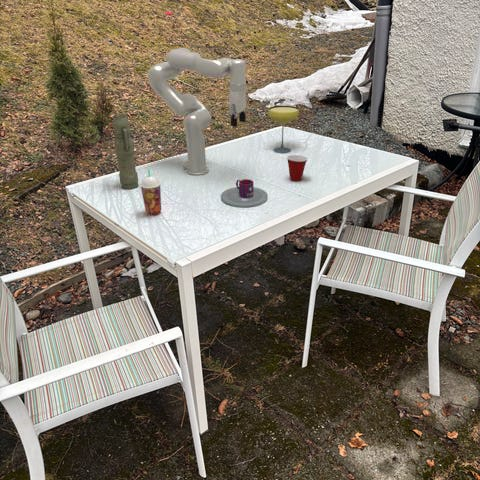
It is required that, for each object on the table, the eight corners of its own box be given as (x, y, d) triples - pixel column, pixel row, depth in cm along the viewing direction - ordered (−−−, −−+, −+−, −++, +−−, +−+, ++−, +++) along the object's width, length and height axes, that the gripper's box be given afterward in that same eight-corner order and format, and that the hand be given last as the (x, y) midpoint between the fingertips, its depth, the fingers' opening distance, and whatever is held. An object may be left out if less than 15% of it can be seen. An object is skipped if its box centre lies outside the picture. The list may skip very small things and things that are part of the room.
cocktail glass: (265, 146, 276) (266, 106, 264) (293, 145, 278) (295, 105, 265) (270, 155, 260) (271, 113, 248) (299, 154, 262) (302, 112, 250)
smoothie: (145, 209, 198) (139, 167, 188) (163, 208, 198) (159, 166, 189) (143, 217, 191) (137, 174, 181) (162, 216, 191) (157, 173, 181)
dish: (212, 202, 203) (212, 200, 203) (233, 185, 221) (233, 183, 220) (256, 210, 195) (256, 208, 194) (274, 192, 212) (274, 190, 212)
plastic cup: (310, 178, 228) (312, 156, 222) (298, 184, 221) (299, 162, 215) (293, 173, 234) (295, 152, 228) (281, 179, 227) (282, 157, 221)
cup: (244, 199, 203) (244, 185, 199) (232, 192, 210) (232, 179, 206) (256, 195, 206) (256, 182, 203) (243, 189, 213) (243, 176, 210)
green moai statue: (132, 180, 228) (123, 112, 211) (143, 187, 220) (134, 117, 203) (116, 184, 224) (105, 115, 206) (126, 191, 215) (116, 120, 198)
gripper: (238, 84, 216) (238, 119, 224) (222, 90, 202) (223, 127, 211) (252, 85, 213) (252, 120, 222) (237, 91, 199) (237, 129, 208)
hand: (238, 123), depth 216 cm, fingers open, 9 cm apart
